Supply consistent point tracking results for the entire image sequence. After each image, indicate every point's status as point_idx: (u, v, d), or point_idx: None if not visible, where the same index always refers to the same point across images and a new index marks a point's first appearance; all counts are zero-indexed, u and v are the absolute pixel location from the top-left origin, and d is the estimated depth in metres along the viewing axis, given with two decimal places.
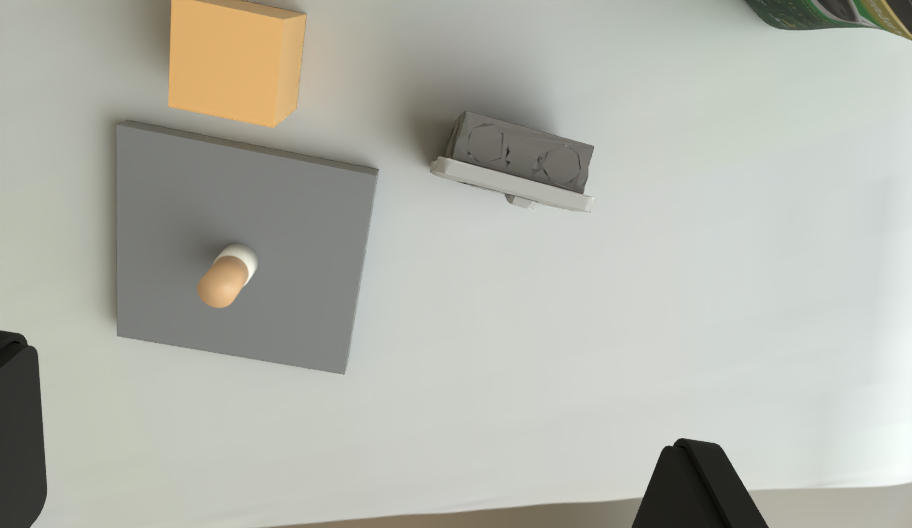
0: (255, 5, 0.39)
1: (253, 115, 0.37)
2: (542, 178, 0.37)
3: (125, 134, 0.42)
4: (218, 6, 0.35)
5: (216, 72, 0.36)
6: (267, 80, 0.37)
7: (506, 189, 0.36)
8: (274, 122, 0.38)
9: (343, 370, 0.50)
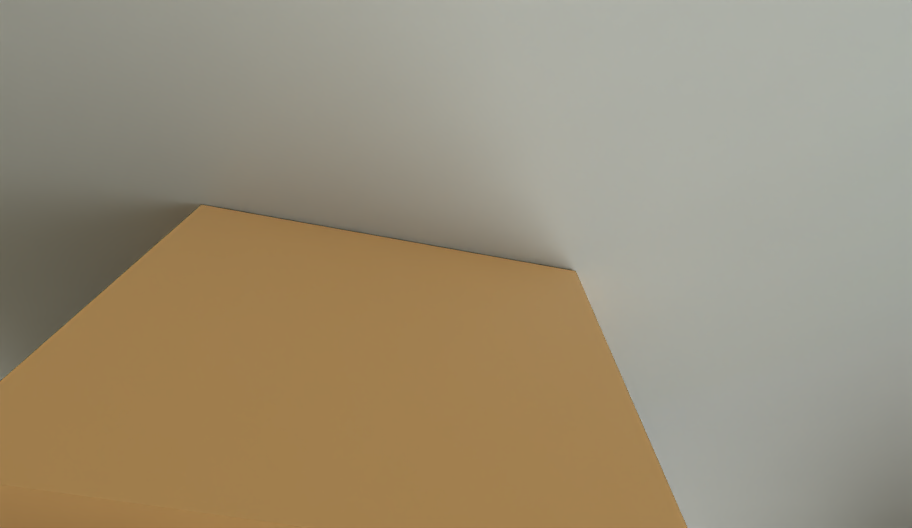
0: (399, 277, 0.09)
1: None
2: None
3: None
4: (256, 522, 0.05)
5: None
6: None
7: None
8: None
9: None
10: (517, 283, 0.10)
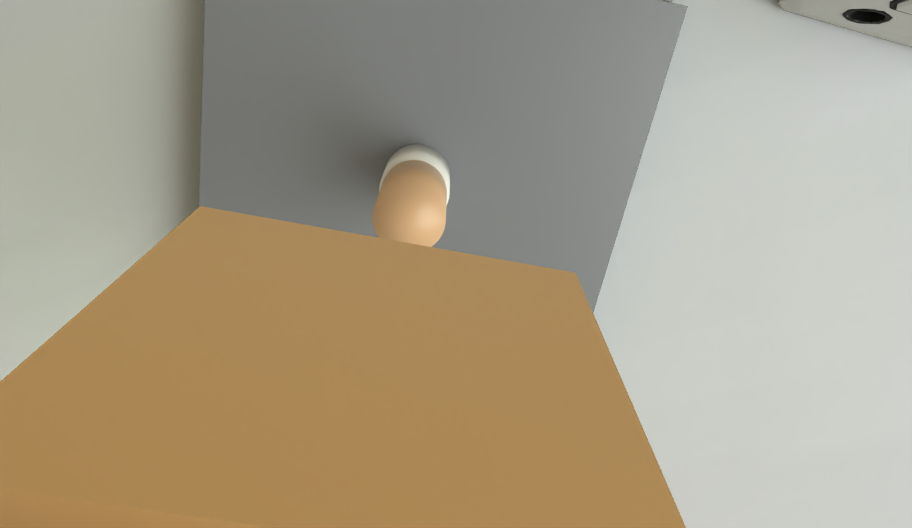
0: (398, 279, 0.09)
1: None
2: None
3: None
4: (254, 526, 0.05)
5: None
6: None
7: None
8: None
9: None
10: (517, 285, 0.10)
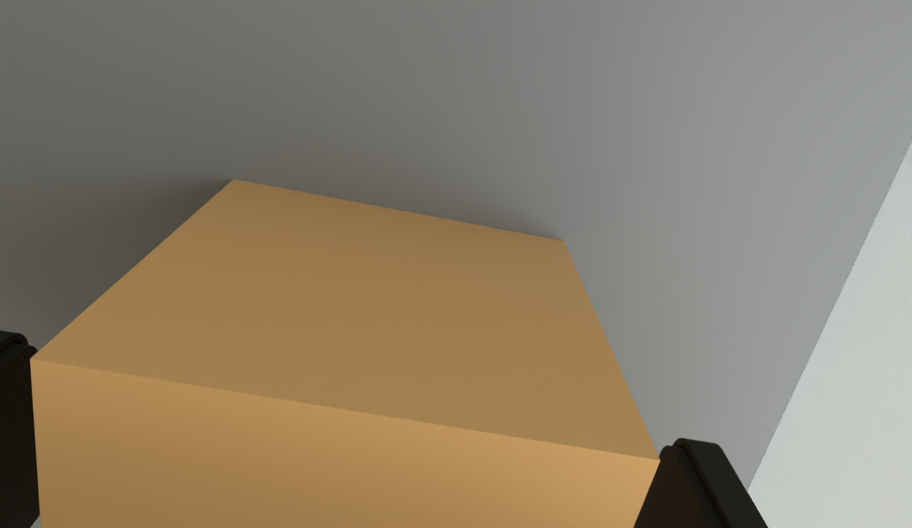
0: (408, 240, 0.10)
1: None
2: None
3: None
4: (303, 405, 0.06)
5: None
6: None
7: None
8: None
9: None
10: (511, 248, 0.11)
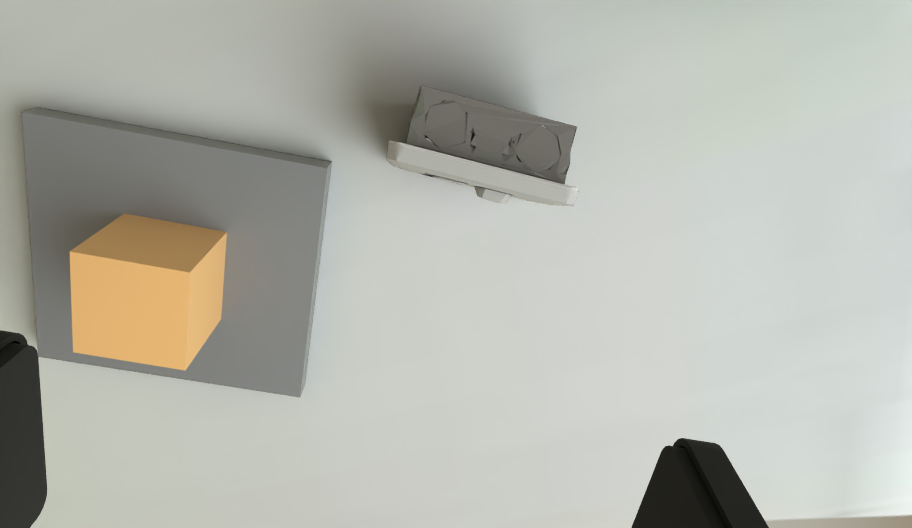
0: (170, 231, 0.37)
1: (163, 359, 0.35)
2: (515, 166, 0.31)
3: (32, 123, 0.36)
4: (120, 260, 0.33)
5: (121, 320, 0.34)
6: (176, 327, 0.35)
7: (471, 179, 0.30)
8: (186, 364, 0.36)
9: (298, 392, 0.43)
10: (203, 234, 0.38)
